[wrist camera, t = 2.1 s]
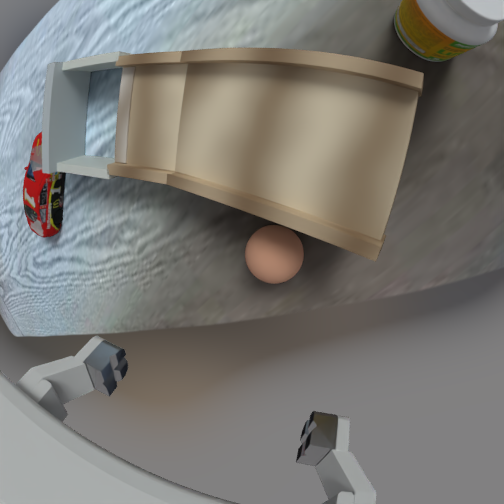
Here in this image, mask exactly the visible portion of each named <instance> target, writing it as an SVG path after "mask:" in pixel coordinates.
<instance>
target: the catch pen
mask: <svg viewBox="0 0 504 504" xmlns="http://www.w3.org/2000/svg"><path fill="white" fill-rule="evenodd" d="M124 55H133V54H130V53H125V52H113V53H106V54H101V55H95V56H90V57H85V58H80V59H75V60H71V61H67V62H54V63H50V64H48V66H47V74H46V82H45V91H44V103H43V119H42V173H47V174H50V173H53V172H56V171H58V172H65V173H72V174H79V175H85V176H91V177H98V178H104V179H111V178H114V177H117V176H115V175H109V170H108V171H107V165H108V164H111V163H114V162H115V158H107V157H98V156H88V155H85V133H86V116H87V103H88V93H89V84H90V76H91V72H93V71H100V70H108V69H116V68H123V67H119V66H115V65H116V60H117V61H118V59H119V56H124ZM107 172H108V173H107Z"/></svg>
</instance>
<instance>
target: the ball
mask: <svg viewBox="0 0 504 504" xmlns="http://www.w3.org/2000/svg"><path fill="white" fill-rule="evenodd" d="M303 258H304V251H303V246H302V243H301V241H300V239H299V237H298V236H297V235H296V234H295V233H294V232H293V231H292V230H290V229H289V228H287V227H284V226H281V225H268V226H265V227H262V228H260V229H259V230H257V231H256V232H255V233H254V234H253V235H252V236H251V237H250V239H249V240H248V243H247V245H246V249H245V259H246V263H247V266H248V268H249V270H250V271H251V273H252V274H253V275H254V276H255V277H257V278H258V279H260V280H261V281H264V282H267V283H272V284H277V283H282V282H285V281H288V280H289V279H291V278H292V277H293V276H295V275H296V274H297V272H298V271H299V269H300V268H301V265H302V262H303Z"/></svg>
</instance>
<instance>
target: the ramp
mask: <svg viewBox="0 0 504 504" xmlns="http://www.w3.org/2000/svg"><path fill="white" fill-rule="evenodd" d="M115 66H119V67H123V70H122V77H121V85H120V93H119V102H118V113H117V125H116V140H115V162H114V163H111V164H108V165H107V171H108V170H109V175H115V176H121V177H127V178H133V179H139V180H145V181H151V182H156V183H162V184H167V185H170V186H173V187H176V188H179V189H182V190H185V191H188V192H191V193H194V194H197V195H200V196H202V197H205V198H208V199H211V200H214V201H217V202H220V203H223V204H225V205H228V206H231V207H234V208H237V209H240V210H242V211H245V212H248V213H251V214H253V215H256V216H259V217H262V218H264V219H267V220H270V221H273V222H275V223H278V224H281V225H283V226H286V227H289V228H291V229H294V230H297V231H299V232H302V233H305V234H307V235H310V236H312V237H315V238H318V239H320V240H323V241H325V242H328V243H330V244H333V245H336V246H338V247H341V248H343V249H346V250H348V251H351V252H353V253H356V254H358V255H361V256H363V257H366V258H368V259H370V260H373V261H375V262H376V260H377V258H378V256H379V253H380V251H381V249H382V246H383V243H384V240H385V237H386V235H384V232H385V229H386V226H387V223H388V220H389V216H390V213H391V210H392V207H393V203H394V200H395V197H396V193H397V190H398V186H399V182H400V179H401V175H402V171H403V167H404V163H405V159H406V155H407V151H408V147H409V142H410V138H411V133H412V128H413V123H414V118H415V113H416V108H417V102H418V96H420V97H421V96H422V89H423V80H424V73H421V72H417V71H414V70H410V69H407V68H403V67H399V66H395V65H391V64H387V63H383V62H378V61H373V60H368V59H363V58H358V57H352V56H346V55H340V54H333V53H325V52H317V51H307V50H295V49H279V48H218V49H202V50H190V51H176V52H156V53H144V54H133V55H124V56H119V59H118V61H117V60H116V65H115ZM107 173H108V172H107Z"/></svg>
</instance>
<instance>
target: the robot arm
mask: <svg viewBox="0 0 504 504" xmlns="http://www.w3.org/2000/svg"><path fill="white" fill-rule="evenodd" d="M125 355H126V353H125V350H124V349H122V348H120V347H118V346H116V345H114V344H112V343H110V342H108V341H106V340H104V339H102V338H100V337H98V336H95V337H93V338H92V339H91V340H90V341H89V342H88V343H87V344H86V345H85V346H84V347H83V349H81V350H80V351H79V352H78V353H77V355H76V356H75V357H73V356H70V357H67V358H64V359H60V360H57V361H54V362H50V363H47V364H43V365H40V366H36V367H33V368H31V369H30V370H29V371H28V372H27V373H26V374H25V375H24V376H23V377H22V378H21V379H20V381H18V382H17V383H16V385H15V384H14V383H13V382H12V381H11V380H10V379H9V378H8V377H7V376H5V375H4V374H3V373H2V372H1V371H0V504H238V503H235V502H231V501H227V500H223V499H220V498H217V497H214V496H210V495H208V494H204V493H201V492H199V491H196V490H193V489H190V488H187V487H185V486H182V485H179V484H177V483H174V482H172V481H169V480H167V479H164V478H162V477H160V476H157V475H155V474H153V473H151V472H148V471H146V470H144V469H142V468H140V467H138V466H135V465H134V464H132V463H130V462H128V461H126V460H124V459H122V458H120V457H118V456H116V455H115V454H113V453H111V452H109V451H107V450H106V449H104V448H102V447H100V446H99V445H97V444H95V443H94V442H92V441H90V440H89V439H87V438H86V437H84V436H82V435H81V434H79V433H78V432H76V431H75V430H73V429H72V428H70V427H69V426H67V425H66V424H64V423H63V420H64V419H65V418H66V417H67V415H68V414H67V411H66V409H65V408H64V406H63V404H65V403H67V402H69V401H71V400H74V399H76V398H78V397H80V396H82V395H84V394H87V393H89V392H91V391H93V390H94V389H96V390H98V391H100V392H102V393H104V394H106V395H108V396H110V395H111V394H112V393H113V391H114V390H115V389H116V387H117V381H120V380H122V379H123V378H124V376H125V375H126V372H127V370H128V363H127V360H126V359H125V358H124V356H125ZM349 433H350V419H349V417H344V416H337V415H333V414H327V413H322V412H316V411H313V412H312V413H311V415H310V420H307V422H306V423H305V425H304V428H303V430H302V434H301V439H300V441H301V443H302V445H301V446H300V448H299V449H298V455H297V460H296V462H297V463H302V464H306V465H312V466H316V470H317V472H318V475H319V477H320V480H321V482H322V484H323V487H324V489H325V492H326V494H327V496H328V499H329V500H328V501H326V502H324V503H323V504H376V491H375V489H374V488H373V486H372V485H371V483H370V481H369V480H368V478H367V476H366V475H365V473H364V472H363V470H362V468H361V466H360V465H359V463H358V462H357V460H356V458H355V457H354V455H353V453H352V452H349Z"/></svg>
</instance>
